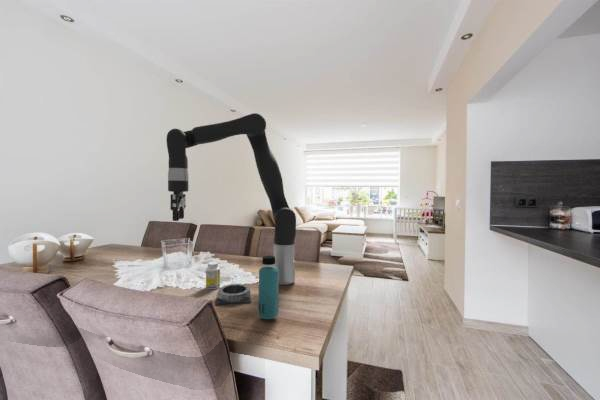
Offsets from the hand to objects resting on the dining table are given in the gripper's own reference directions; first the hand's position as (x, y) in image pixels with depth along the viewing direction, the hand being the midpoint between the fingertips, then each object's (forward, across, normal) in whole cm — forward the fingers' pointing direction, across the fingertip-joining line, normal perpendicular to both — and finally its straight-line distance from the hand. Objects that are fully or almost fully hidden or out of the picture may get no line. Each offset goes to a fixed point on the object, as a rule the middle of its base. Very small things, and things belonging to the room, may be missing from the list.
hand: (178, 219), depth 105 cm
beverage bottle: (+29, -33, -34) cm, 55 cm away
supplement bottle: (+28, -2, -14) cm, 32 cm away
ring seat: (+28, -14, -23) cm, 39 cm away
